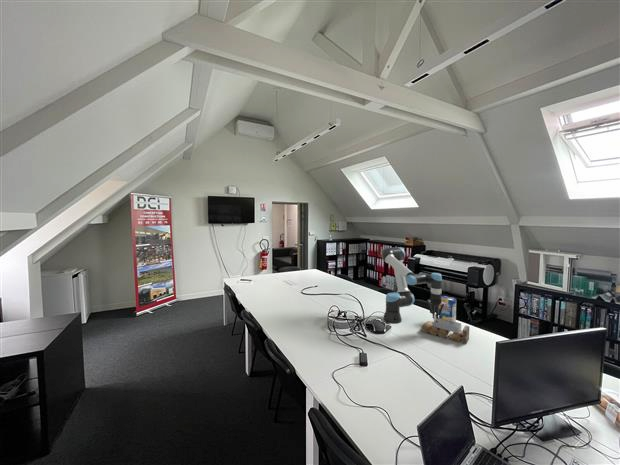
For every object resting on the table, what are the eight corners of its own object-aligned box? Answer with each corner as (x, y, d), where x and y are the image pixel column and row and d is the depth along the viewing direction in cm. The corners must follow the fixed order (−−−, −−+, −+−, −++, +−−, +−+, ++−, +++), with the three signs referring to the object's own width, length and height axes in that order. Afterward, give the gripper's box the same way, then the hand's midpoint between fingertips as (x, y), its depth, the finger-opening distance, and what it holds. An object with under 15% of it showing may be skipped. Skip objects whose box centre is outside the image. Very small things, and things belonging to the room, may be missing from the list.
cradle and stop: (446, 338, 186) (447, 325, 185) (450, 334, 193) (450, 321, 193) (466, 344, 178) (466, 330, 177) (469, 339, 185) (469, 326, 184)
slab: (434, 326, 191) (434, 321, 191) (438, 322, 199) (438, 317, 199) (458, 333, 181) (458, 327, 181) (461, 328, 188) (461, 323, 188)
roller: (449, 338, 184) (458, 343, 181) (452, 332, 182) (461, 337, 179) (453, 333, 192) (461, 338, 189) (456, 327, 191) (465, 332, 187)
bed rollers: (446, 339, 186) (446, 331, 185) (421, 331, 198) (421, 324, 198) (450, 333, 194) (450, 326, 194) (425, 327, 206) (425, 320, 206)
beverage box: (452, 326, 207) (452, 300, 206) (438, 322, 216) (439, 297, 215) (455, 324, 211) (456, 298, 210) (442, 320, 220) (443, 295, 219)
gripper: (425, 292, 196) (425, 322, 197) (443, 295, 187) (443, 326, 188) (428, 290, 201) (428, 319, 203) (446, 293, 193) (445, 323, 194)
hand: (435, 322), depth 196 cm, fingers closed
